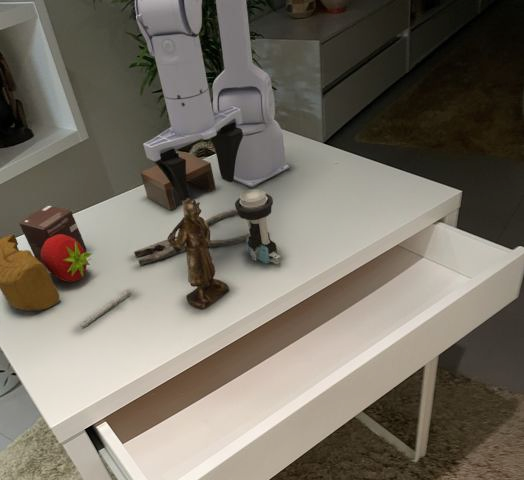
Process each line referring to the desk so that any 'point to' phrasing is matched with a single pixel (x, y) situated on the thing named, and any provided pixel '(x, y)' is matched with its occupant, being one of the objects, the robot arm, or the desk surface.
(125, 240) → the desk surface
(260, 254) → the push button
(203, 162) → the brown wooden bridge block
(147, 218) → the desk surface
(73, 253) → the strawberry
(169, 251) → the pliers
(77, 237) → the box
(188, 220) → the figurine
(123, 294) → the wall anchor
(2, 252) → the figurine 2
